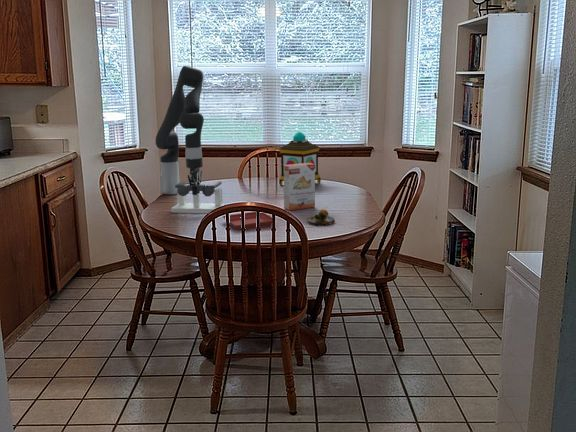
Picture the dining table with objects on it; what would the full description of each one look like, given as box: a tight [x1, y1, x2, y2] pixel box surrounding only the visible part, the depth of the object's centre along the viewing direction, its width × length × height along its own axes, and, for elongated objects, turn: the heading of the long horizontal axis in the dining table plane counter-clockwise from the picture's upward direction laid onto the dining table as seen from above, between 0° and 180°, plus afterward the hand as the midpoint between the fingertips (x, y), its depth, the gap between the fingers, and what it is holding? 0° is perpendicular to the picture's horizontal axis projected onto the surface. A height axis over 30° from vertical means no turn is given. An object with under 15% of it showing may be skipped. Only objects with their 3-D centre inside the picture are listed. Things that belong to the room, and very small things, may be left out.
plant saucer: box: [222, 211, 273, 231], centre depth 251 cm, size 18×18×3 cm
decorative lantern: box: [278, 131, 321, 186], centre depth 334 cm, size 20×20×30 cm
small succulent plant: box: [306, 206, 336, 227], centre depth 251 cm, size 12×12×8 cm
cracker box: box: [283, 163, 316, 211], centre depth 276 cm, size 14×6×21 cm, turn 117°
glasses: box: [175, 180, 223, 197], centre depth 278 cm, size 19×11×5 cm, turn 80°
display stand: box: [170, 187, 227, 214], centre depth 278 cm, size 23×12×10 cm, turn 80°
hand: (196, 193), depth 274 cm, fingers closed on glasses, 3 cm apart
